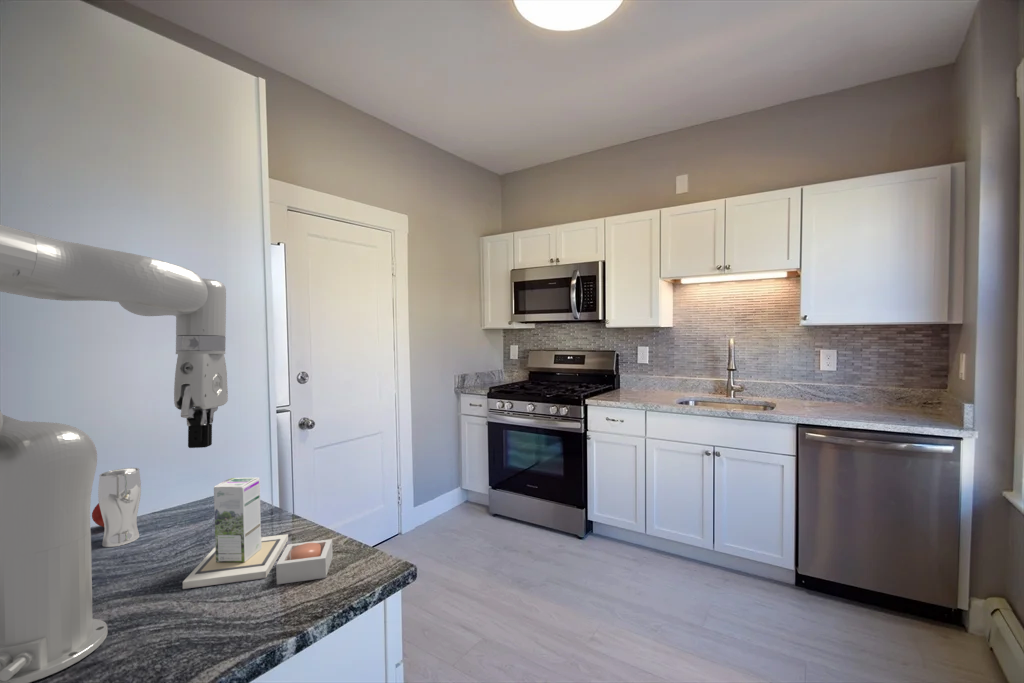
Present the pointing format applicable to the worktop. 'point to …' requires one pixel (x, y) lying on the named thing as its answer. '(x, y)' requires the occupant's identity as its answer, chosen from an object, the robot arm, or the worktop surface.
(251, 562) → the picture board
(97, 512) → the onion
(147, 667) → the worktop surface
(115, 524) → the beer glass
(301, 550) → the button
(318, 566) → the button housing
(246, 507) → the syrup box
